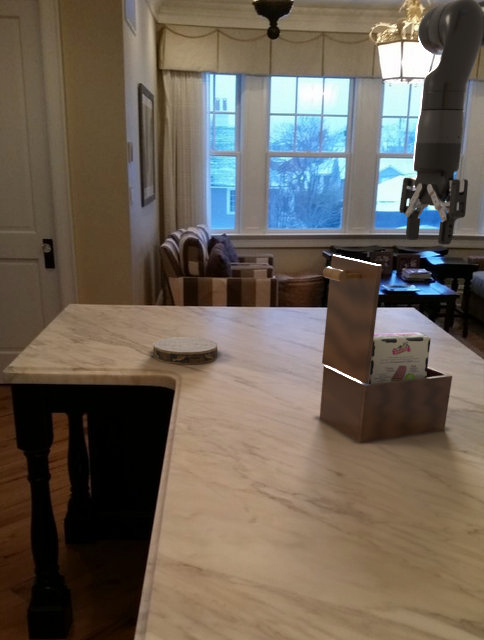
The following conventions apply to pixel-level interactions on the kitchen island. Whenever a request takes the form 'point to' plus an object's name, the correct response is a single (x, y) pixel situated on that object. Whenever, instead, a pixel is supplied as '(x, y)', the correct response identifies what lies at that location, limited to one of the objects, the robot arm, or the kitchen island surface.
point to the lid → (351, 316)
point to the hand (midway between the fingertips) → (427, 241)
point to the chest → (385, 405)
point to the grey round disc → (185, 350)
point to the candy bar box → (399, 357)
